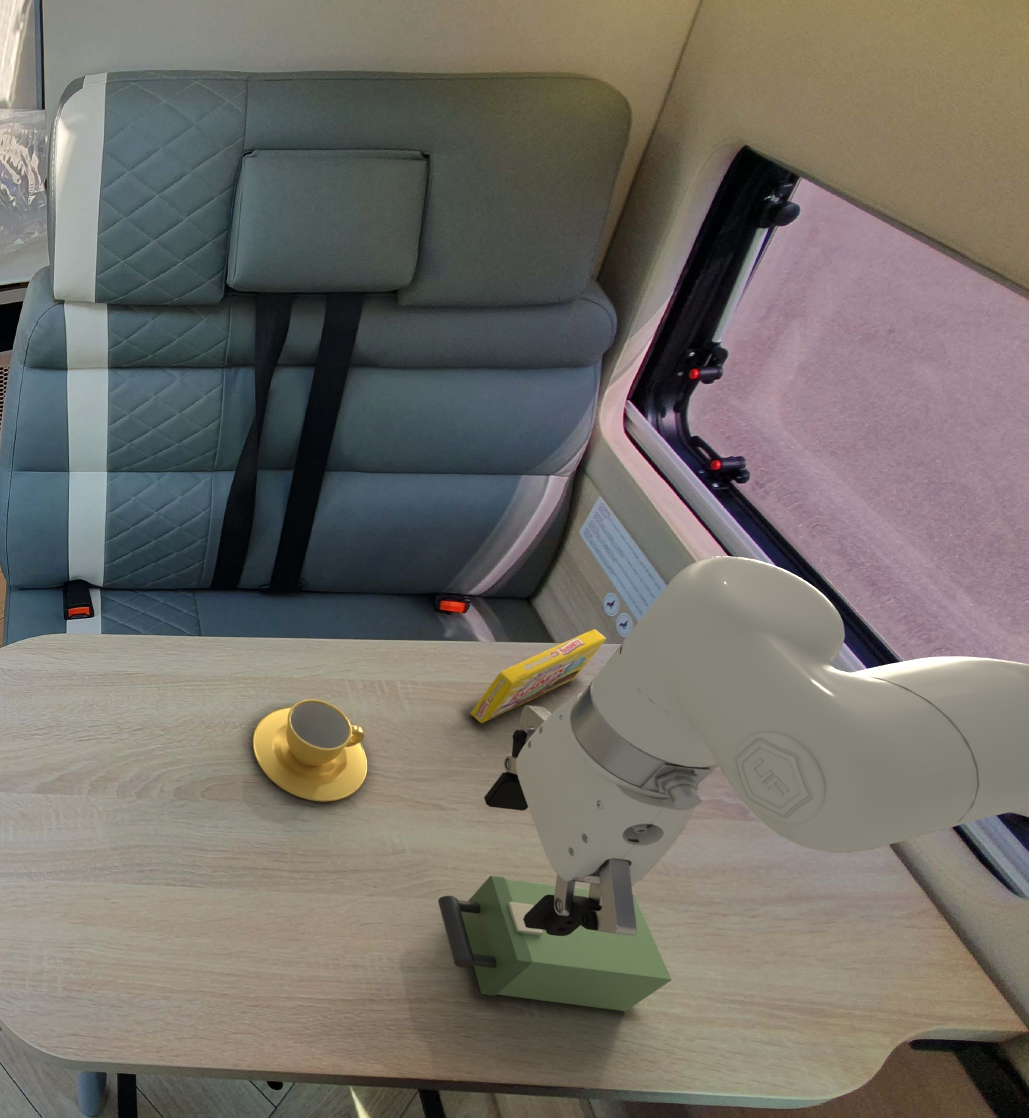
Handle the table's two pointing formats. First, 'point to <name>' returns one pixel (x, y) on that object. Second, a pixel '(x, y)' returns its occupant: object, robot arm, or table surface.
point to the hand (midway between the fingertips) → (523, 861)
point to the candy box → (537, 675)
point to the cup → (311, 751)
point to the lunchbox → (548, 950)
